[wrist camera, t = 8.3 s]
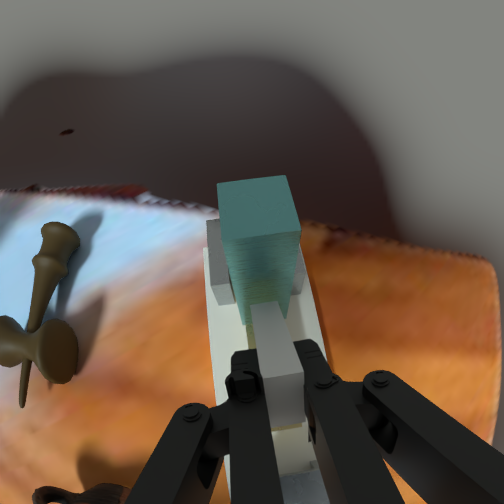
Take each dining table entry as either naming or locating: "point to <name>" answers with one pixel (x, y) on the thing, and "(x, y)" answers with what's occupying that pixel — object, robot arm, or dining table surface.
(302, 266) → the socket
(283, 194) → the two-tone teal block
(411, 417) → the robot arm
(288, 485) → the sleeve
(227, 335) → the base board
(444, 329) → the dining table surface
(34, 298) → the kendama
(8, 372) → the dining table surface
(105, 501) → the brown grey jagged ring
